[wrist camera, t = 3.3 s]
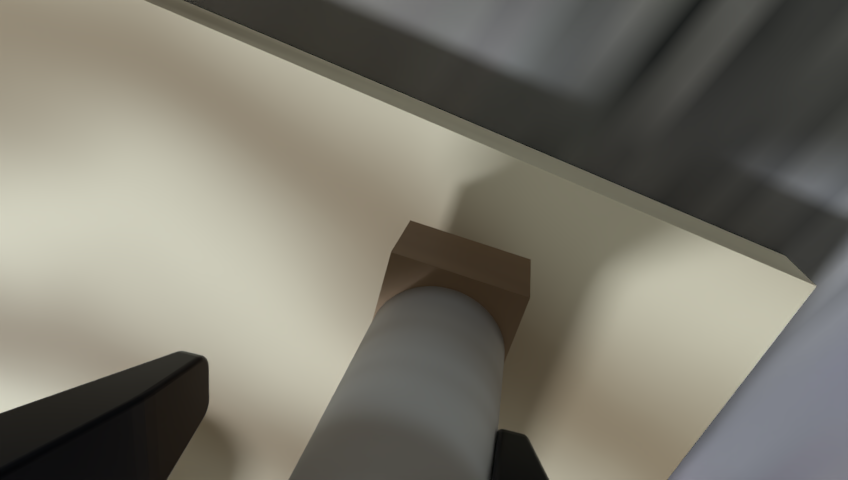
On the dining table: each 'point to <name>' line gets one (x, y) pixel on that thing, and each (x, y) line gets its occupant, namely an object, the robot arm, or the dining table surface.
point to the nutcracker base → (334, 245)
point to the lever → (425, 367)
